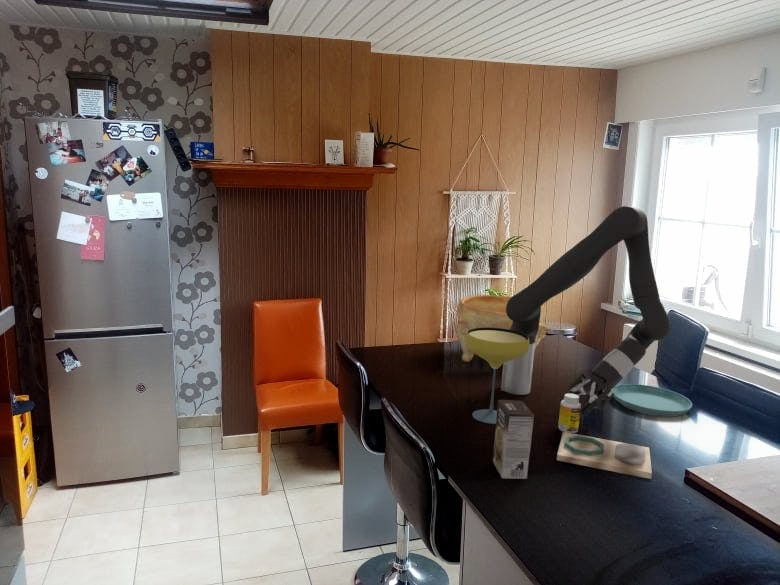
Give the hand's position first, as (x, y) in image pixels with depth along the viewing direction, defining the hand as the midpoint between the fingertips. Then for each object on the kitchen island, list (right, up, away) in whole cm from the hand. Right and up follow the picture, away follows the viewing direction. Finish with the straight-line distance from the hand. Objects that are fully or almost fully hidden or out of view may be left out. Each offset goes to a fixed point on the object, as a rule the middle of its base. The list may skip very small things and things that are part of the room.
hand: (572, 408), depth 173 cm
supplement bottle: (-1, -6, +1) cm, 7 cm away
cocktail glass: (-22, -4, +8) cm, 24 cm away
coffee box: (-23, -10, -26) cm, 36 cm away
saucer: (+33, -4, +26) cm, 42 cm away
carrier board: (+3, -9, -15) cm, 18 cm away
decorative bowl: (-12, +7, +70) cm, 71 cm away
